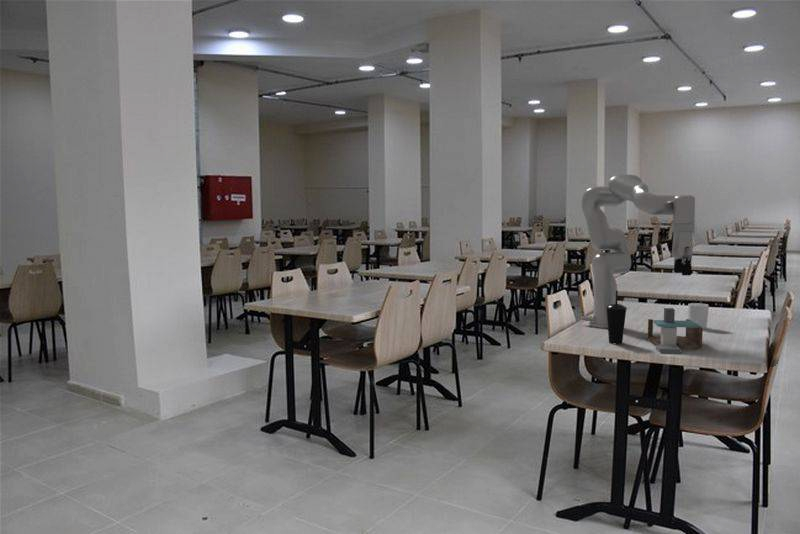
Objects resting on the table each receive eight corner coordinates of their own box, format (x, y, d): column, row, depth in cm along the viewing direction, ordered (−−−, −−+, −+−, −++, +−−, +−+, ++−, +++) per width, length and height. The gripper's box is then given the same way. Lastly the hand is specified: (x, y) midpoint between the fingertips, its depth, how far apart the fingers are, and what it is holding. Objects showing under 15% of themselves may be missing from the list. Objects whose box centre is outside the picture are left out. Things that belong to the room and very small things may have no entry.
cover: (658, 326, 240) (659, 310, 240) (653, 322, 248) (654, 306, 248) (698, 327, 238) (699, 311, 237) (692, 323, 246) (692, 307, 246)
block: (663, 347, 242) (663, 327, 242) (660, 345, 247) (660, 325, 246) (676, 348, 242) (676, 327, 241) (673, 345, 246) (673, 325, 246)
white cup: (710, 330, 275) (710, 306, 274) (689, 329, 277) (690, 305, 276) (705, 326, 283) (706, 303, 282) (685, 326, 285) (686, 302, 284)
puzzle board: (658, 348, 241) (658, 326, 240) (647, 338, 258) (648, 318, 258) (701, 349, 238) (702, 327, 238) (688, 339, 256) (688, 319, 255)
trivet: (659, 352, 234) (659, 348, 234) (655, 349, 240) (656, 345, 240) (680, 353, 233) (680, 349, 233) (676, 349, 239) (676, 345, 239)
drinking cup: (609, 339, 257) (610, 288, 255) (629, 342, 252) (630, 290, 250) (601, 343, 251) (602, 290, 249) (621, 345, 246) (622, 292, 244)
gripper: (666, 227, 257) (665, 272, 258) (679, 229, 239) (678, 276, 241) (686, 227, 256) (685, 271, 257) (701, 229, 239) (700, 276, 240)
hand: (682, 274), depth 249 cm, fingers open, 9 cm apart
